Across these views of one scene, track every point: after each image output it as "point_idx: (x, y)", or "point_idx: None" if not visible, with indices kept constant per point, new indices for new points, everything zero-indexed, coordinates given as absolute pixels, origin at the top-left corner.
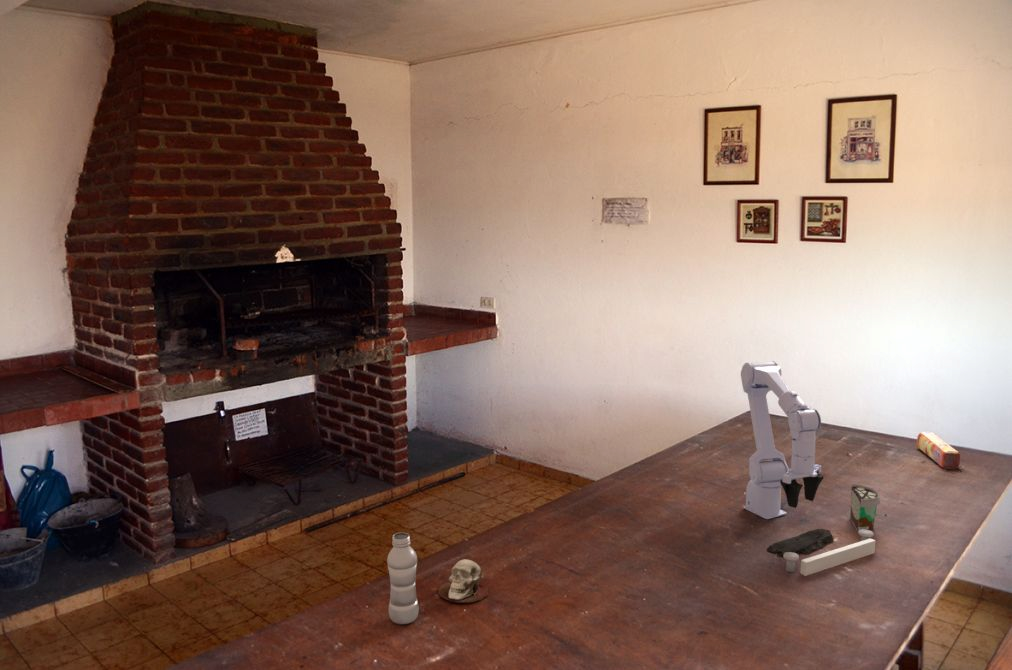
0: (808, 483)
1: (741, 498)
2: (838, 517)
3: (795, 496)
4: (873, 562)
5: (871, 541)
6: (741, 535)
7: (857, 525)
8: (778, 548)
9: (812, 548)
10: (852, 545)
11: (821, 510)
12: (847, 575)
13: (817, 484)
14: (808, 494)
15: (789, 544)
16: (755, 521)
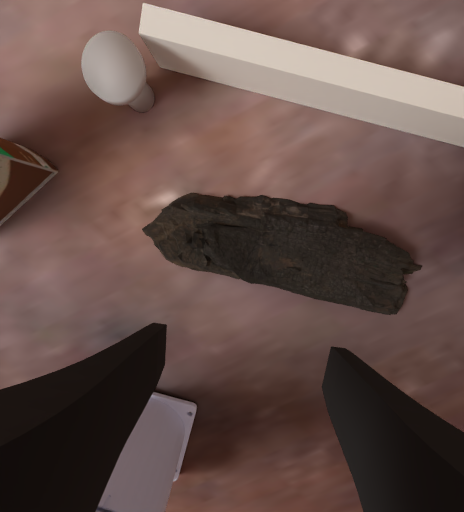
0: (97, 460)
1: None
2: (10, 268)
3: (429, 414)
4: (237, 7)
5: (166, 12)
6: None
7: (32, 177)
8: (390, 285)
9: (301, 211)
10: (267, 54)
11: (10, 326)
12: (406, 24)
13: (68, 390)
14: (150, 372)
15: (348, 271)
16: (229, 418)
